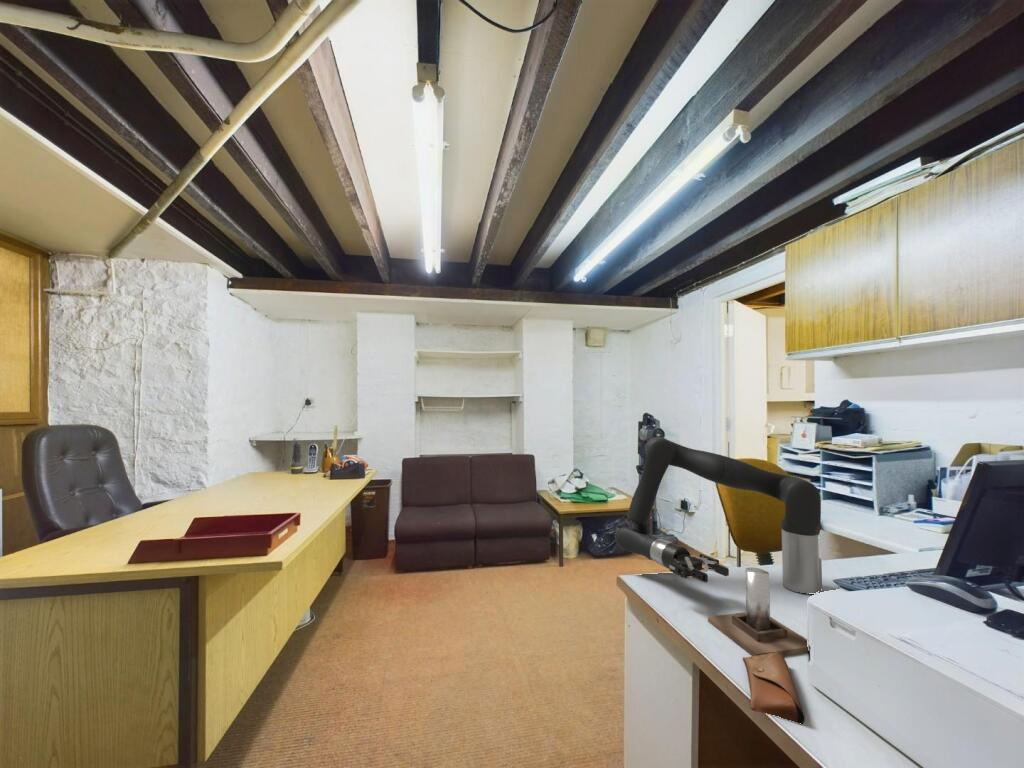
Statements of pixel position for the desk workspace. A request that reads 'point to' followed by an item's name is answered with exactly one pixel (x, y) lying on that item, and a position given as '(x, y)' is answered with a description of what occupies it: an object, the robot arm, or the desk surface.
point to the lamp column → (757, 599)
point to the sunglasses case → (773, 687)
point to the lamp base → (759, 635)
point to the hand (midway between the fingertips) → (717, 575)
